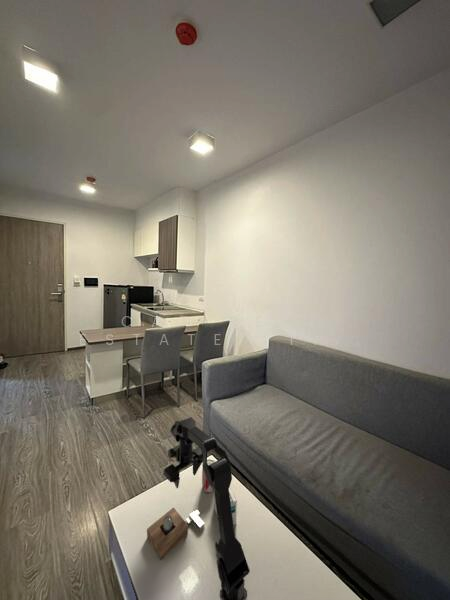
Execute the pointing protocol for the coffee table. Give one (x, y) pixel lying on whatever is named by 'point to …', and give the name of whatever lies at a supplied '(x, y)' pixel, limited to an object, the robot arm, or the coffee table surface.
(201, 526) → the grey t-shaped block
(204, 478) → the soda can
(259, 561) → the coffee table surface
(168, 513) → the bore block
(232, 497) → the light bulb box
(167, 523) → the cylinder
